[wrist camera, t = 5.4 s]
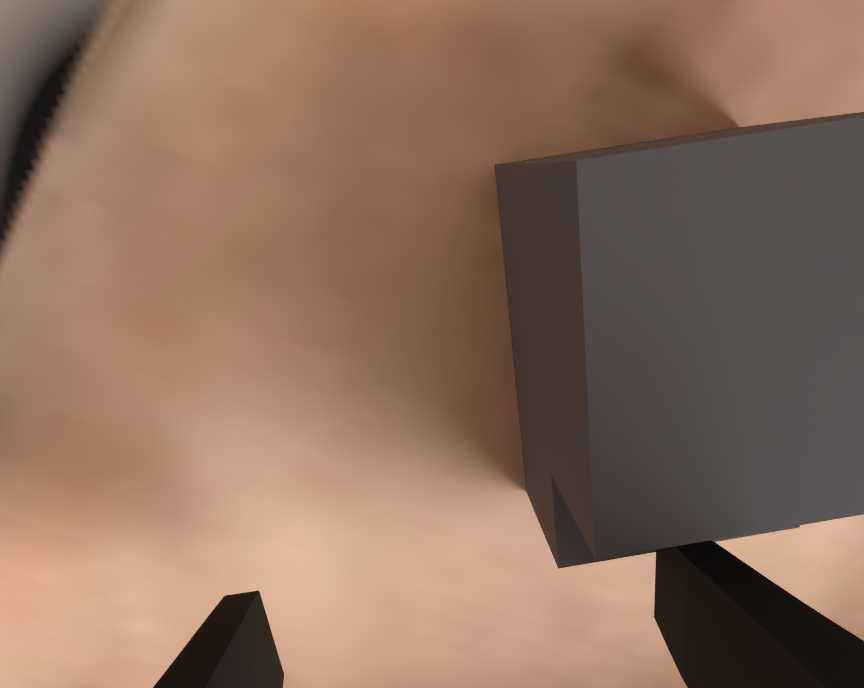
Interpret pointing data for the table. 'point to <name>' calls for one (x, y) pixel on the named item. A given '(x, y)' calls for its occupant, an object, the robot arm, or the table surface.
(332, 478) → the table surface
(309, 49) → the table surface
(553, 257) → the dark grey block
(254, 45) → the table surface
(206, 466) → the table surface
